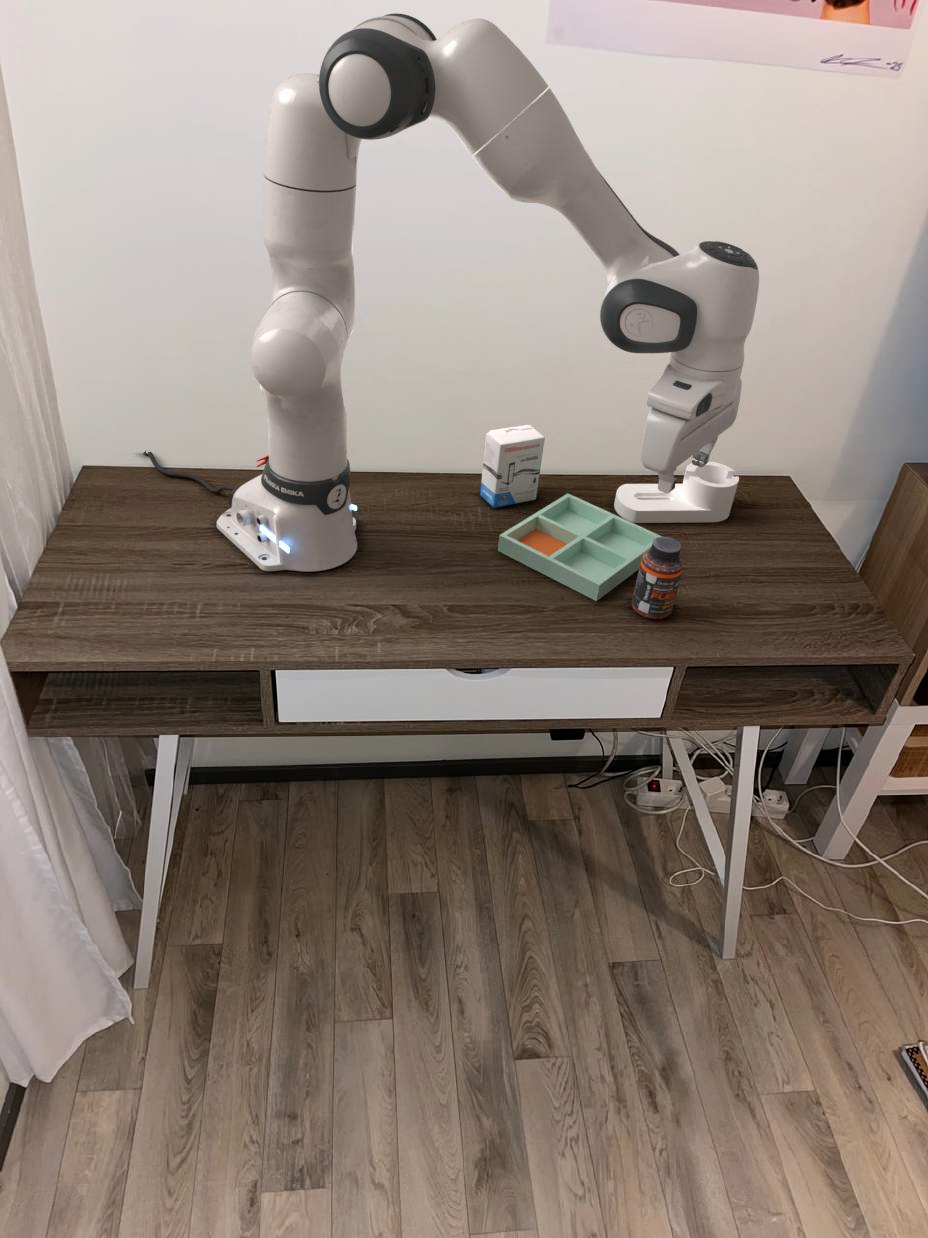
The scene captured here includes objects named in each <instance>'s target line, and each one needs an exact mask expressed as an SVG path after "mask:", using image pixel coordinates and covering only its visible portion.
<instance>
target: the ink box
mask: <svg viewBox="0 0 928 1238" xmlns="http://www.w3.org/2000/svg"><path fill="white" fill-rule="evenodd" d="M485 433H486V434H485V442H484V451H483V462H482V463H483V464H482V472H481V483H480V494H479V495H480V497H482V499H484V500H485V501H486V502H487V503H488V504H489V505H490V506H491V507H493V508H494V509H496V508H500V507H501V508H502V507H506V506H512V505H515V504H520V503H525V502H530V501H535V500H536V499H537V494H538V488H539V487H538V486H539V482H540V474H541V468H542V461H543V453H544V447H545V436H544V435H543V434H542V433H541V432H539V430H537V429H536V428H535V427H534V426H533V425H532V424H524V425H518V426H510V427H505V428H504V427H503V428H498V429H497V428H496V429H491V430H489V431H488V432H485Z"/></svg>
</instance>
